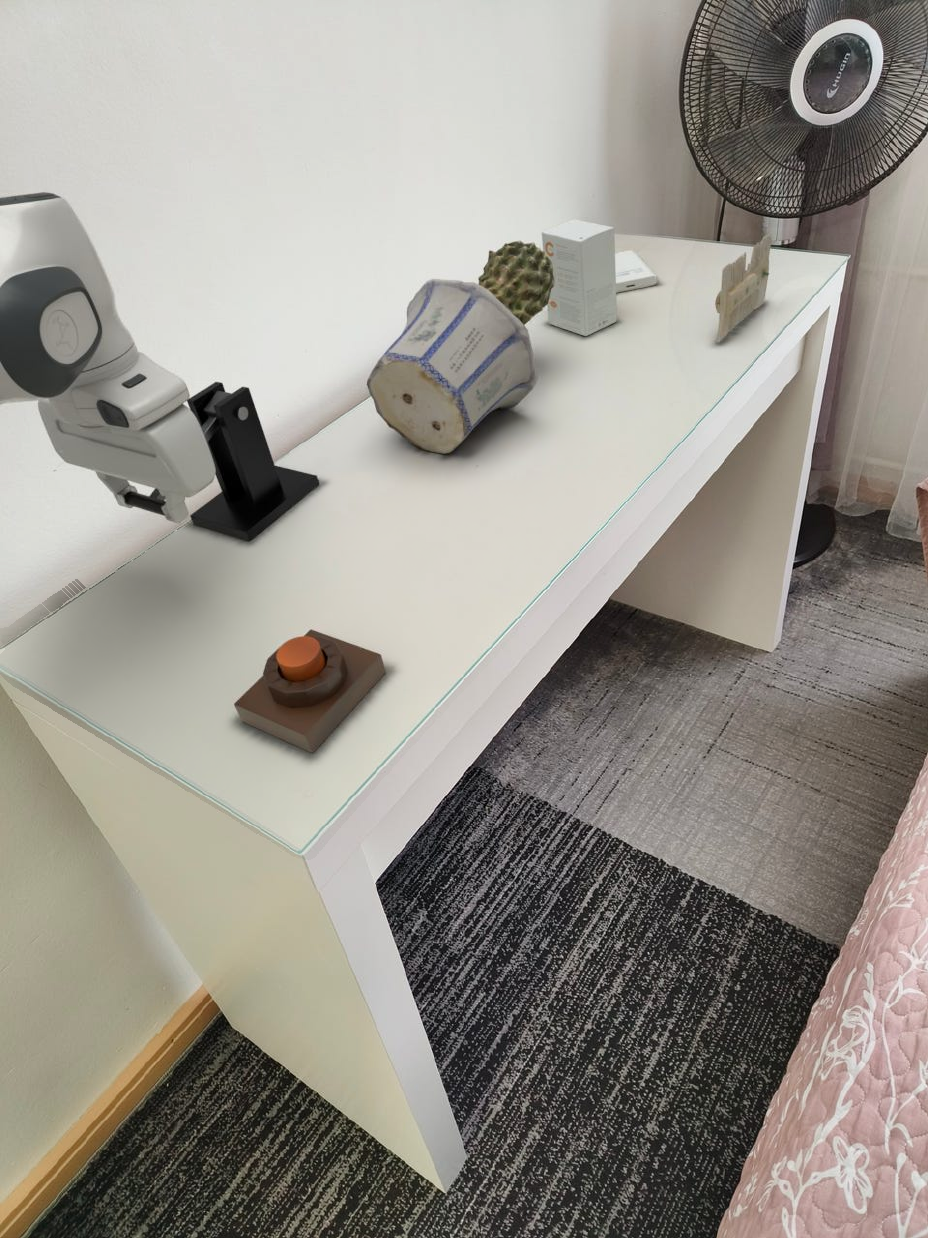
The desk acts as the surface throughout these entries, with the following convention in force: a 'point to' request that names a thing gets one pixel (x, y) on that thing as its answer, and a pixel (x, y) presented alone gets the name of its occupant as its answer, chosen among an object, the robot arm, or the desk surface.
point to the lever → (208, 428)
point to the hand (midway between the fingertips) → (154, 511)
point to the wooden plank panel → (743, 287)
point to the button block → (311, 694)
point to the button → (300, 658)
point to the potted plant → (463, 350)
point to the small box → (581, 276)
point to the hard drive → (632, 272)
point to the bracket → (244, 469)
